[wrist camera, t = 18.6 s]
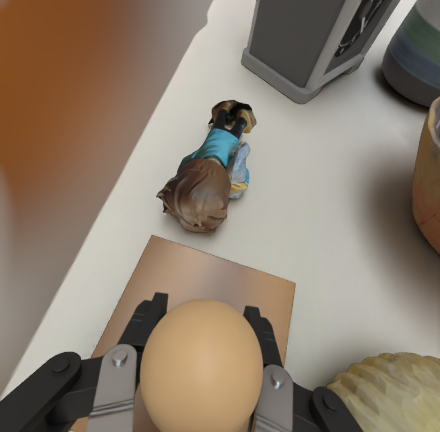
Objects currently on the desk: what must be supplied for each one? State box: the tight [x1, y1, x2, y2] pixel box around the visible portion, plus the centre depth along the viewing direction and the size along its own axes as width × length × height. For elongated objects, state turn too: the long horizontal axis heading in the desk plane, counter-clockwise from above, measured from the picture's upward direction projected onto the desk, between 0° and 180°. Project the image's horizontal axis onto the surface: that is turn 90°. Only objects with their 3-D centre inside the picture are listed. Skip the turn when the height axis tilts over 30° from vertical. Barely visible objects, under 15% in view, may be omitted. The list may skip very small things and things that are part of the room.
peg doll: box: [140, 299, 263, 432], centre depth 11 cm, size 6×6×12 cm
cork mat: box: [70, 235, 296, 432], centre depth 17 cm, size 14×14×1 cm
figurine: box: [156, 100, 257, 233], centre depth 22 cm, size 8×16×6 cm, turn 161°
